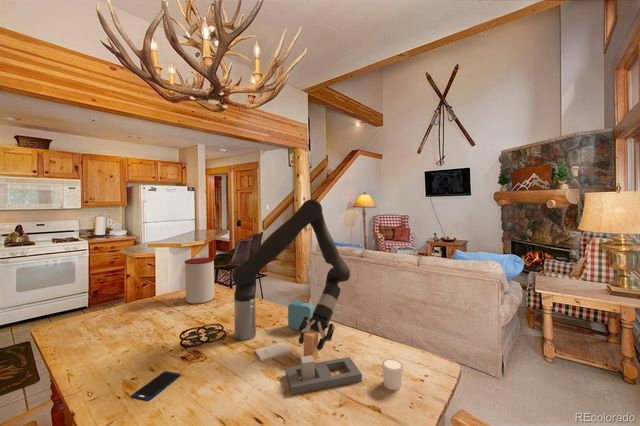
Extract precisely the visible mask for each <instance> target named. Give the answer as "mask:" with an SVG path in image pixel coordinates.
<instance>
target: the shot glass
mask: <svg viewBox="0 0 640 426" xmlns="http://www.w3.org/2000/svg"><path fill="white" fill-rule="evenodd" d="M381 366H382V367H381V368H382V378H383V386H384V387H385V389H388V390H391V391H398V390H401V388H402V383H403V372H404V364H403V363H402V362H401V361H400V360H398V359H394V358H386V359H383V360H382V361H381Z"/></svg>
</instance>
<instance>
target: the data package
mask: <svg viewBox="0 0 640 426" xmlns="http://www.w3.org/2000/svg"><path fill="white" fill-rule="evenodd" d="M314 310H315V306H314V304H312V303H310V302H302V301H296V300H295V301H292V302H291V303H289V304H288V305H287V323H288V324H287V326H288V328H290V329H291V330H292V329H293V330H297V331H300V330H299V327H300V325H301V323H302V321H303V319H304V317H305V316H307V317H308V318H310V319H311V318H312V316H313V312H314ZM308 324H310V322H309V323H308ZM308 324H307V325H308ZM310 328H311V327H310Z"/></svg>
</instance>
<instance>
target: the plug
mask: <svg viewBox="0 0 640 426" xmlns="http://www.w3.org/2000/svg"><path fill="white" fill-rule="evenodd" d="M318 343H319V333H318V332H315V331H311V330H309V331H308V332H306V333H304V342H303V357H304V356H310V355H312V356H313V359H314V361H315V362H316V360H318V359H319V350H318V349H317V346H318Z"/></svg>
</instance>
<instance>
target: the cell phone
mask: <svg viewBox="0 0 640 426" xmlns="http://www.w3.org/2000/svg"><path fill="white" fill-rule="evenodd" d="M181 376H182V374H181V373H179V372H172V371H166V370H165V371H162V372H161V373H160V374H159V375H157V376H156V377H154V378H153V379H152V380H149V382H148V383H146V384H145V385H144V386H142V387H141V388H139V389H137V390H136V391H135V392H134V393H132V394H131V396H130V397H131V398H132V399H135V400H141V401H144V402H149V401H151V400H153V399H154V398H155V397H156V396H158V395H159V394H160V393H162V392H163V391H164V390H165V389H166V388H168V387H169V386H170V385H171V384H173V383H174V382H175V381H176V380H178V379H179V378H180V377H181ZM167 386H168V387H167Z"/></svg>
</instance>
